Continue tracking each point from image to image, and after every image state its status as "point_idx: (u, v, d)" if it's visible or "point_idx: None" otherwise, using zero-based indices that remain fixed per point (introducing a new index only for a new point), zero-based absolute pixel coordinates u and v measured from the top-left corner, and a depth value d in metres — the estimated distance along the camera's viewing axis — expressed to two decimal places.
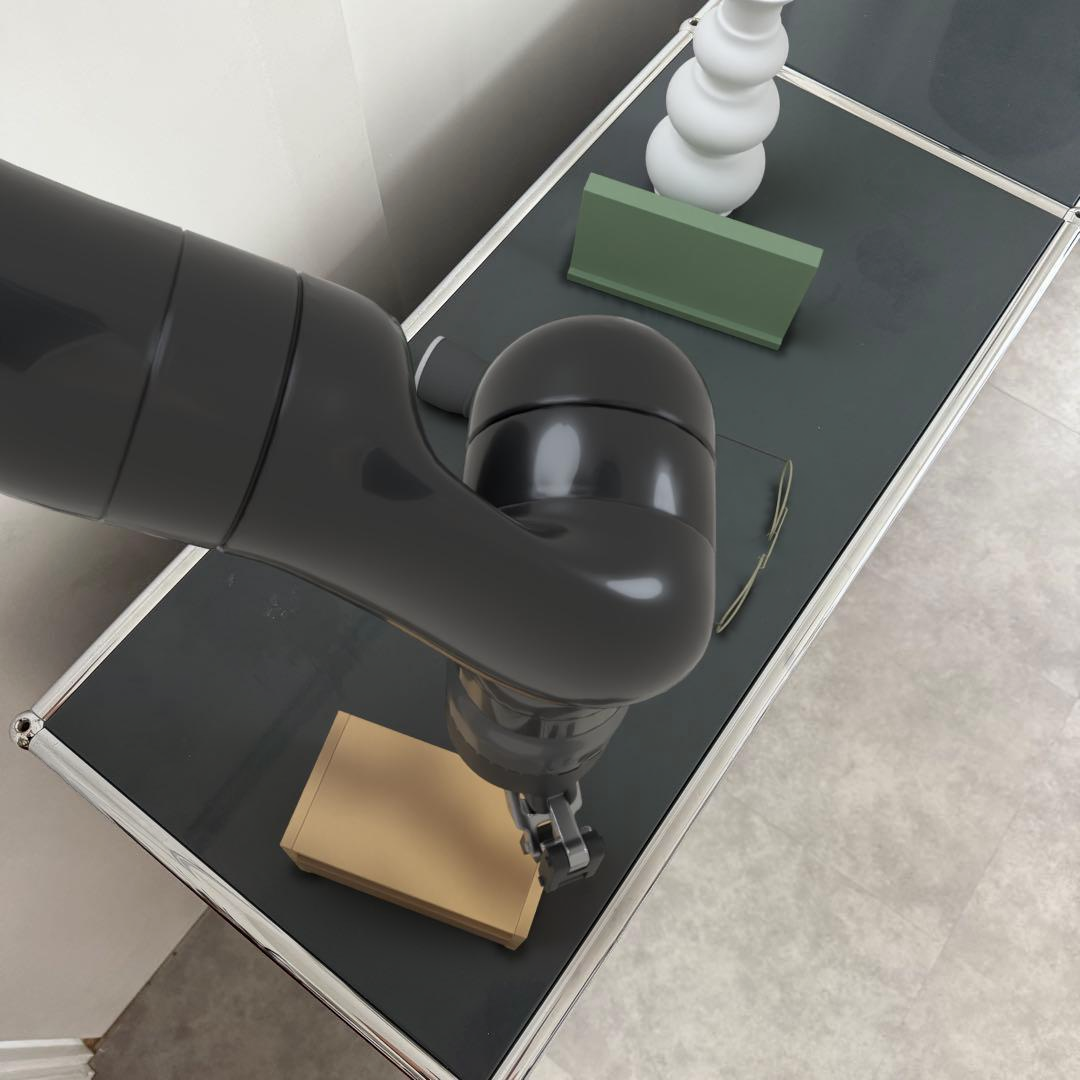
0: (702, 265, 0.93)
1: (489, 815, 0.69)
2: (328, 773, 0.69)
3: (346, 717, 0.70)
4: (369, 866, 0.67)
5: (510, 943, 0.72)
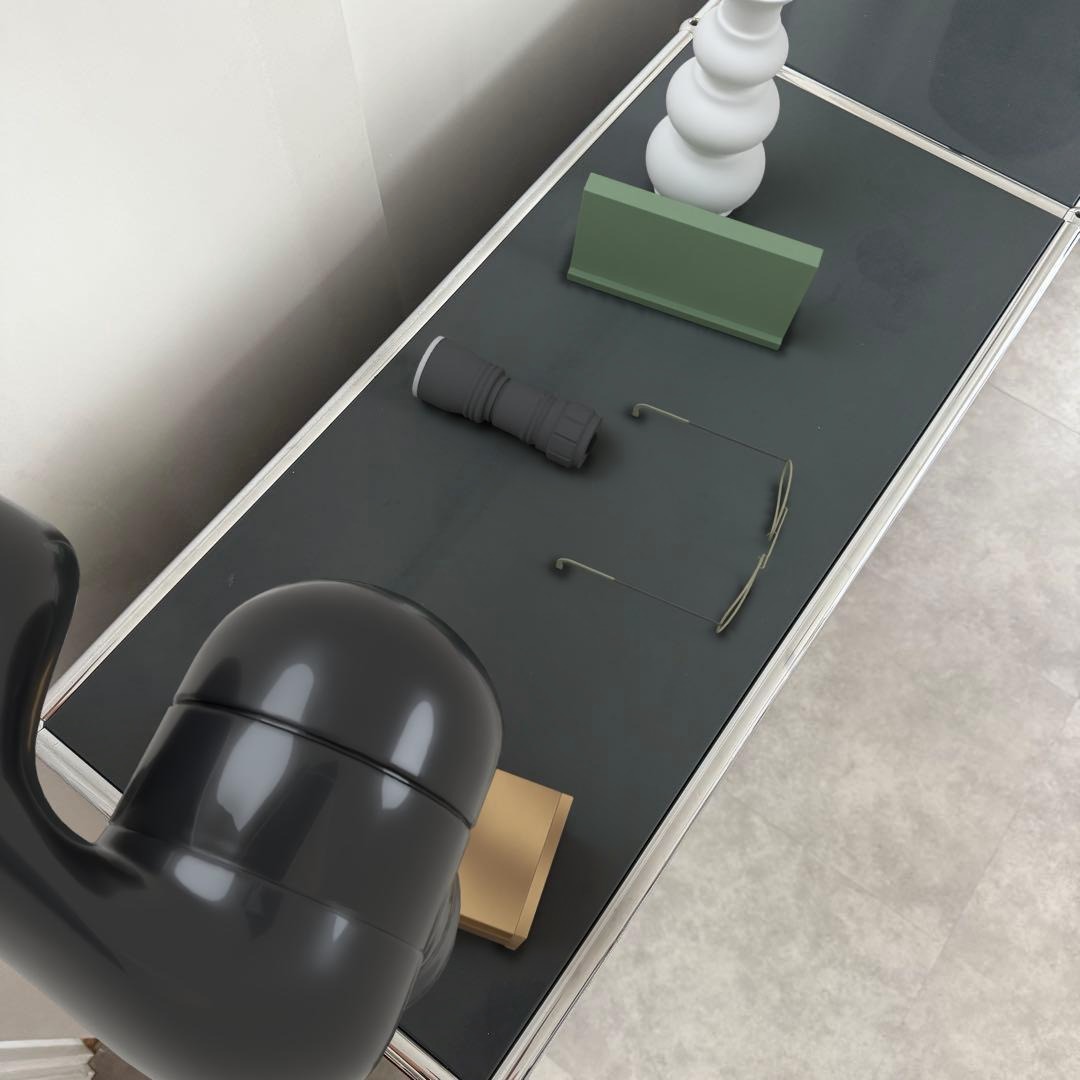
0: (702, 265, 0.93)
1: (489, 815, 0.69)
2: None
3: None
4: None
5: (510, 943, 0.72)
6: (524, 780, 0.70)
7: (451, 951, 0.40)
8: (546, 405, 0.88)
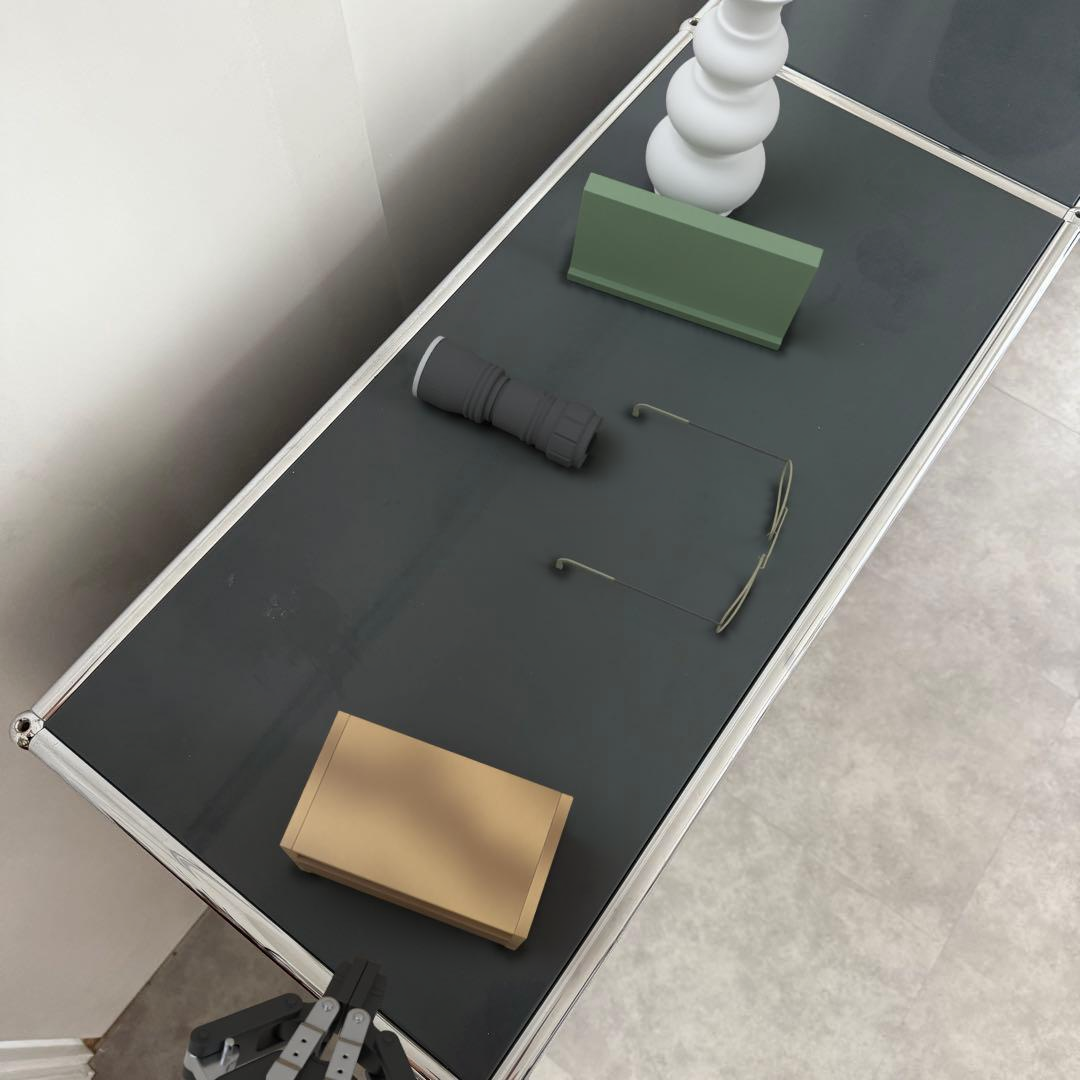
0: (702, 265, 0.93)
1: (489, 815, 0.69)
2: (328, 773, 0.69)
3: (346, 717, 0.70)
4: (369, 866, 0.67)
5: (510, 943, 0.72)
6: (524, 780, 0.70)
7: None
8: (546, 405, 0.88)
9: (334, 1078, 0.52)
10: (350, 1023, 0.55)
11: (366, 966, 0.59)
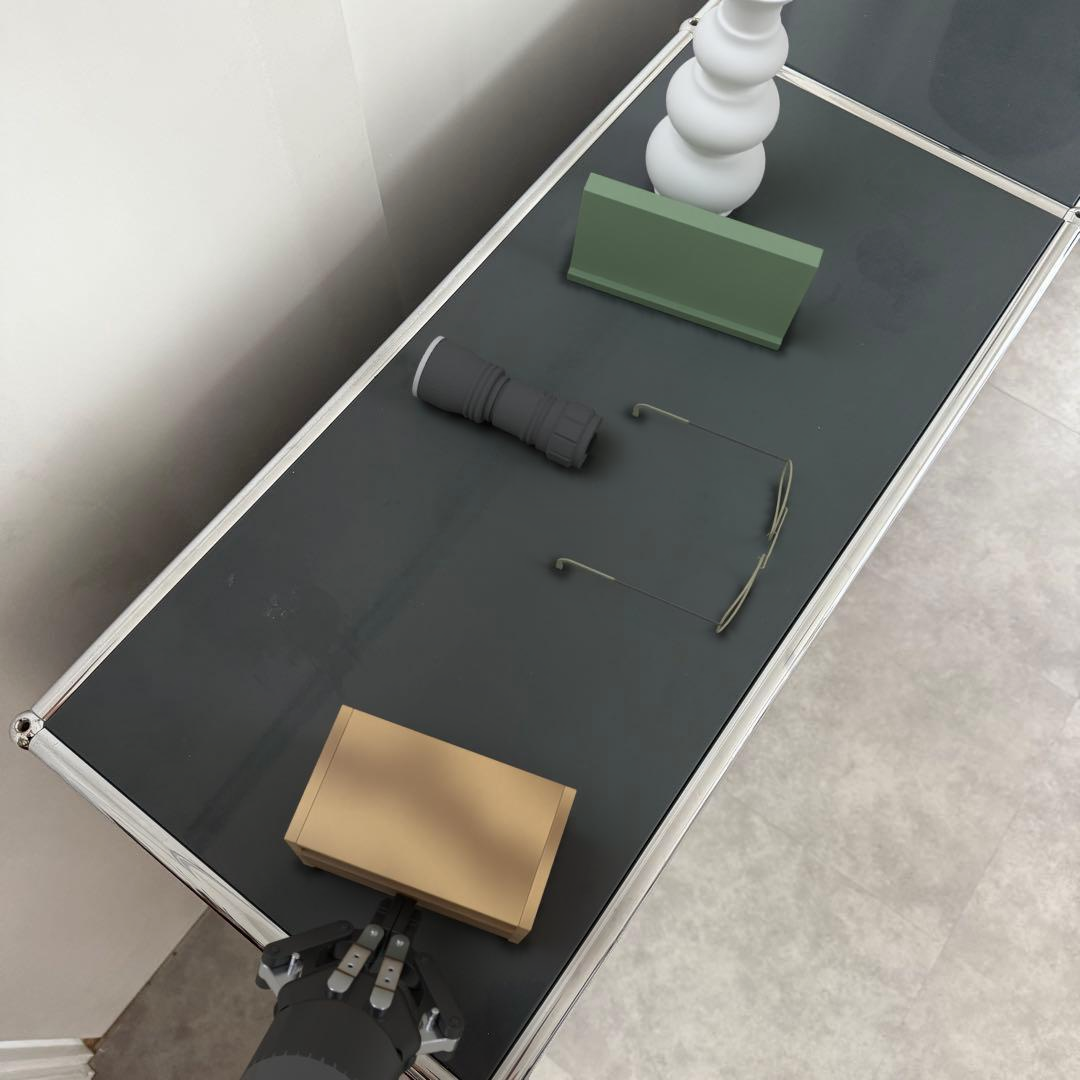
0: (702, 265, 0.93)
1: (493, 808, 0.69)
2: (332, 767, 0.69)
3: (349, 711, 0.71)
4: (373, 859, 0.67)
5: (514, 936, 0.72)
6: (527, 773, 0.70)
7: None
8: (546, 404, 0.88)
9: (382, 985, 0.63)
10: (393, 945, 0.66)
11: (405, 902, 0.70)
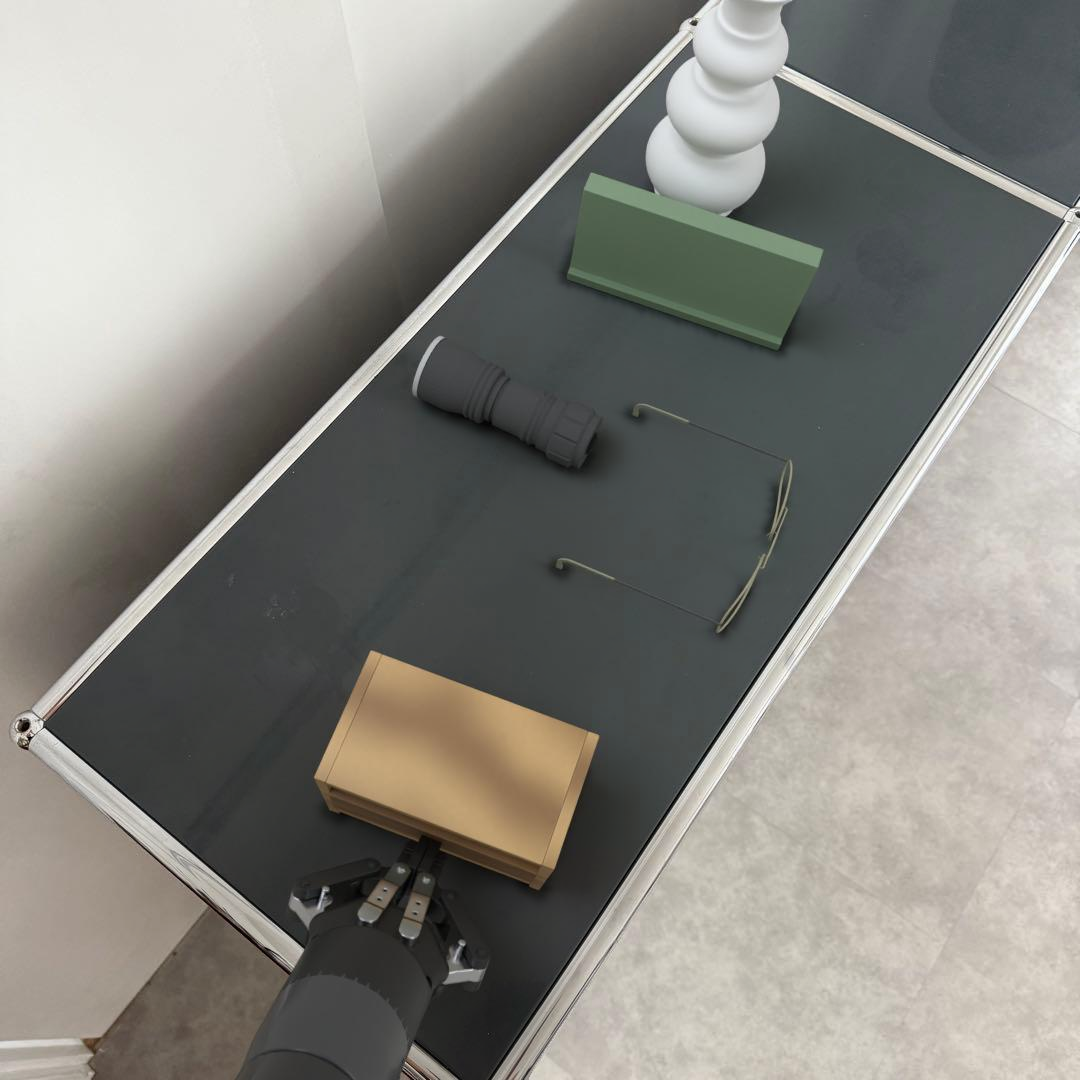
0: (702, 265, 0.93)
1: (517, 751, 0.71)
2: (361, 710, 0.71)
3: (378, 657, 0.72)
4: (401, 799, 0.69)
5: (536, 880, 0.74)
6: (551, 718, 0.72)
7: None
8: (546, 405, 0.88)
9: (411, 917, 0.64)
10: (420, 882, 0.68)
11: (430, 843, 0.72)
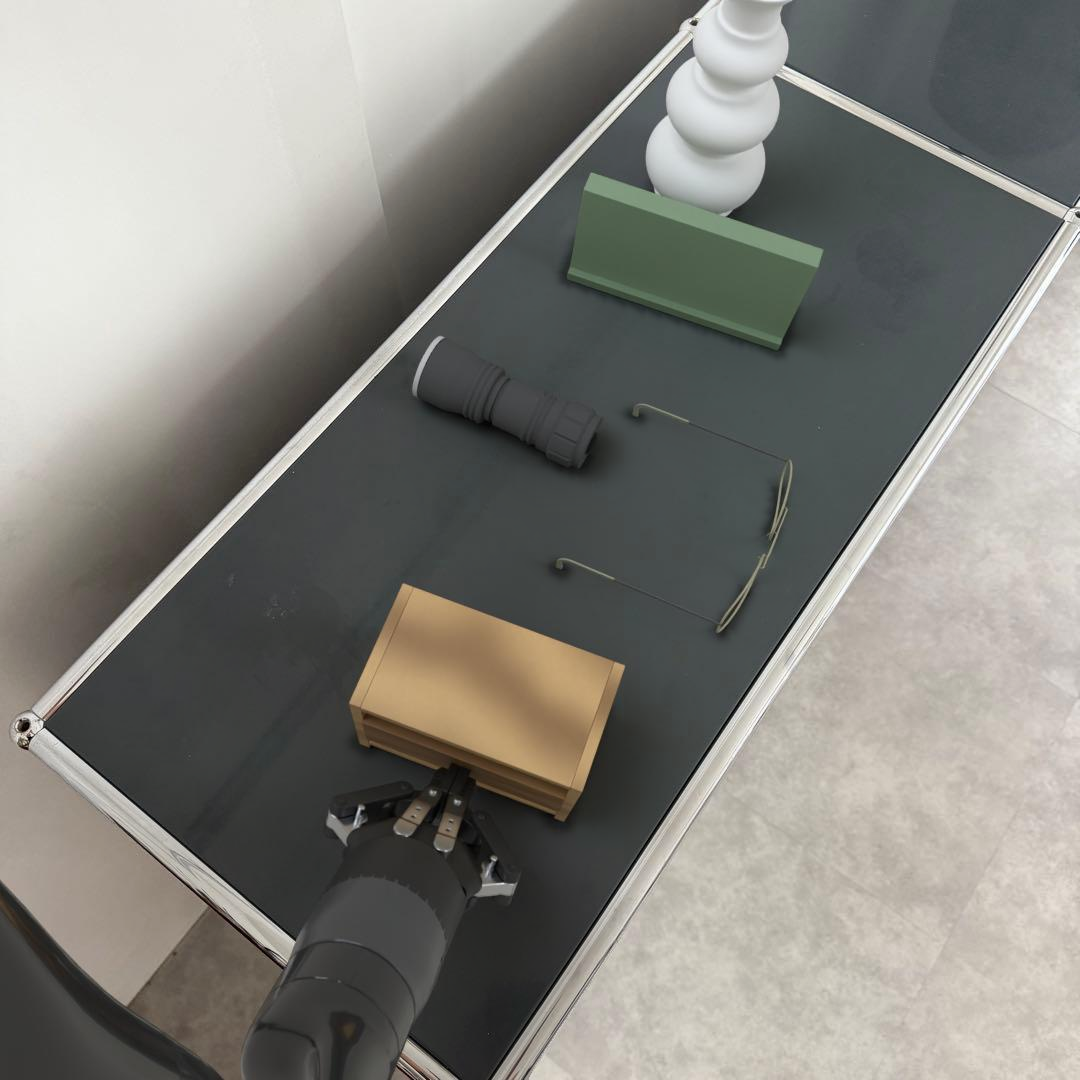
0: (702, 265, 0.93)
1: (546, 680, 0.73)
2: (393, 639, 0.73)
3: (410, 589, 0.74)
4: (433, 724, 0.71)
5: (562, 808, 0.76)
6: (578, 649, 0.74)
7: None
8: (546, 404, 0.88)
9: (444, 833, 0.66)
10: (451, 803, 0.70)
11: (459, 770, 0.74)
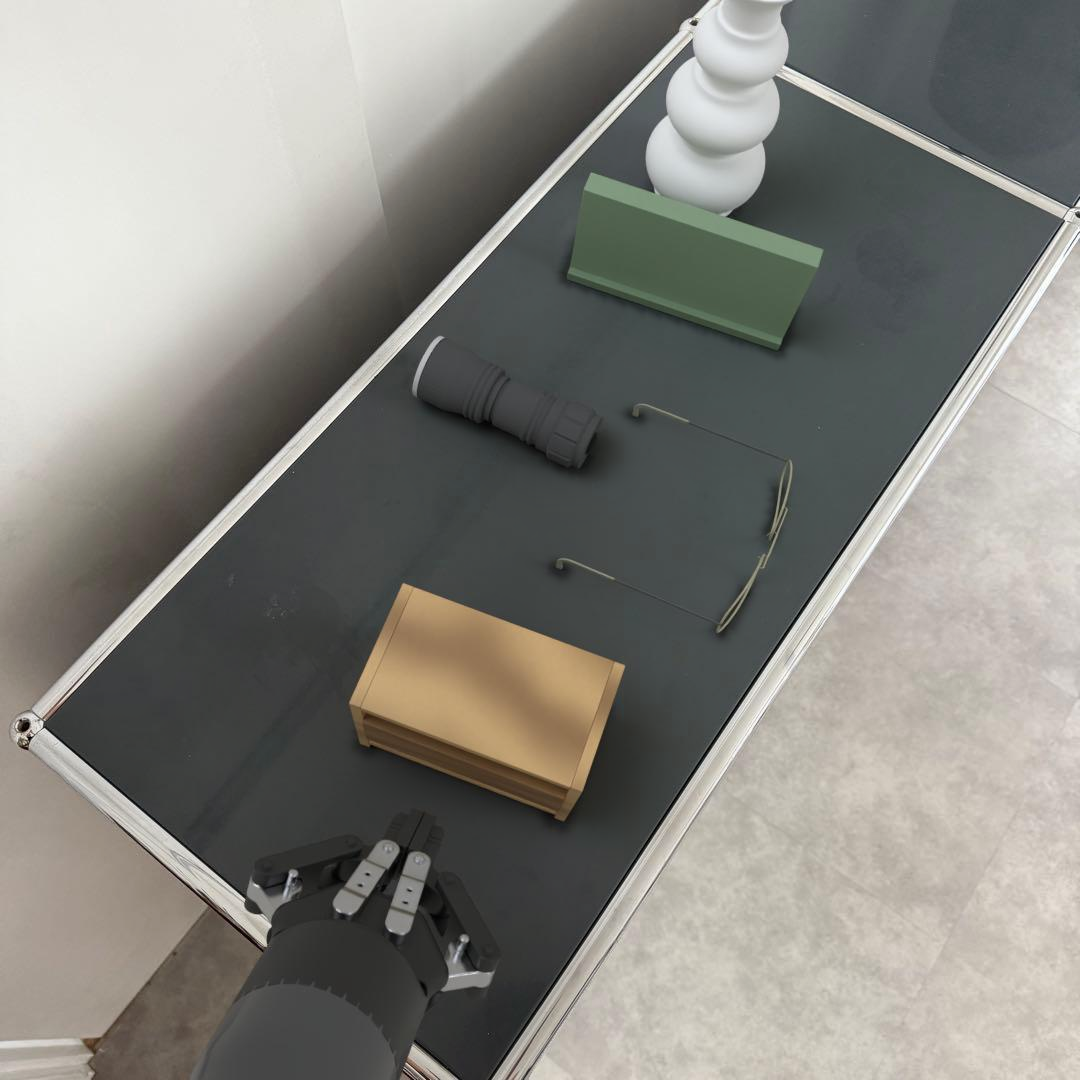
0: (702, 265, 0.93)
1: (546, 680, 0.73)
2: (394, 639, 0.73)
3: (410, 589, 0.74)
4: (433, 724, 0.71)
5: (562, 808, 0.76)
6: (578, 649, 0.74)
7: None
8: (546, 405, 0.88)
9: (400, 907, 0.51)
10: (411, 863, 0.55)
11: (423, 816, 0.59)
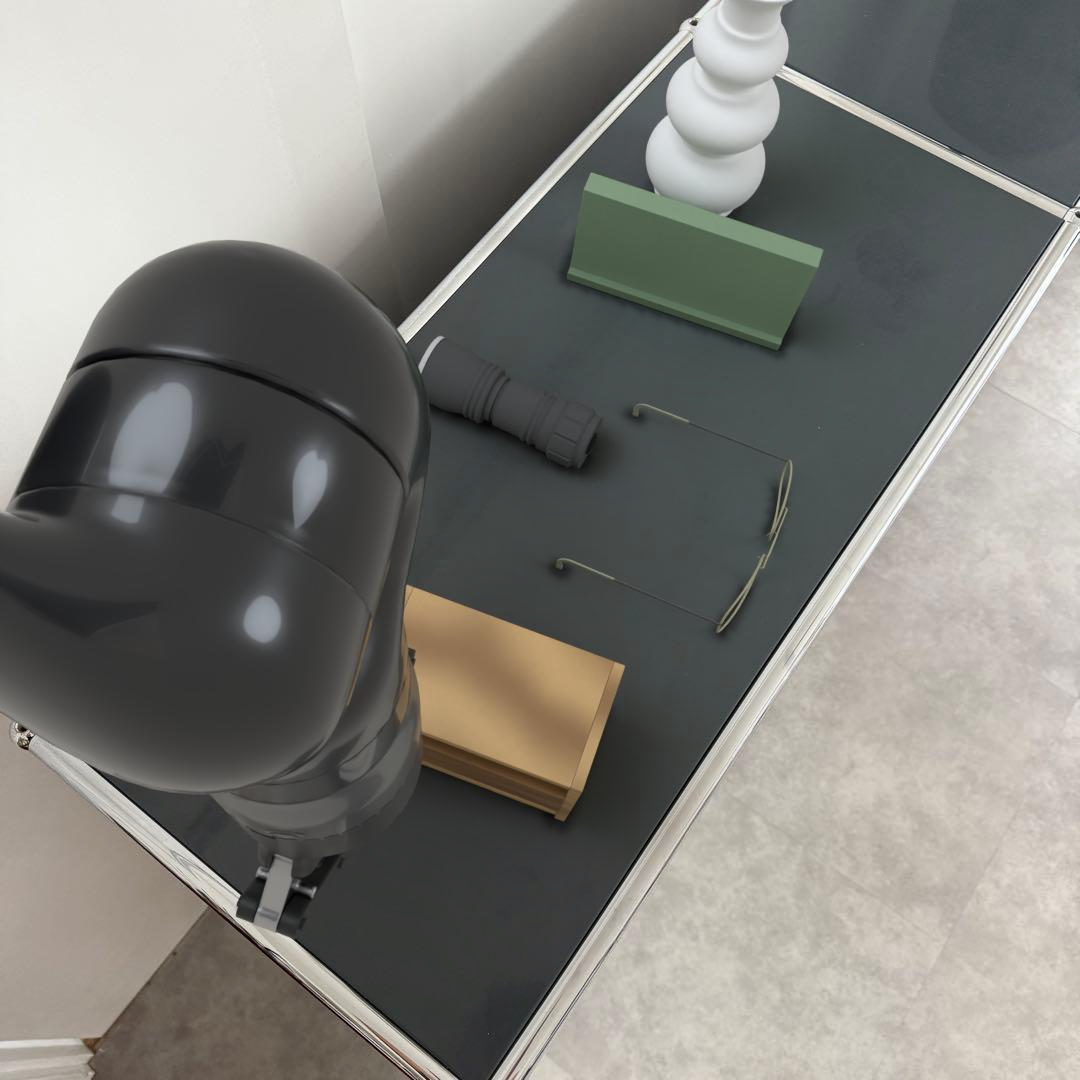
0: (702, 265, 0.93)
1: (546, 680, 0.73)
2: None
3: (410, 589, 0.74)
4: (433, 724, 0.71)
5: (562, 808, 0.76)
6: (578, 649, 0.74)
7: (413, 778, 0.39)
8: (546, 405, 0.88)
9: None
10: None
11: None
